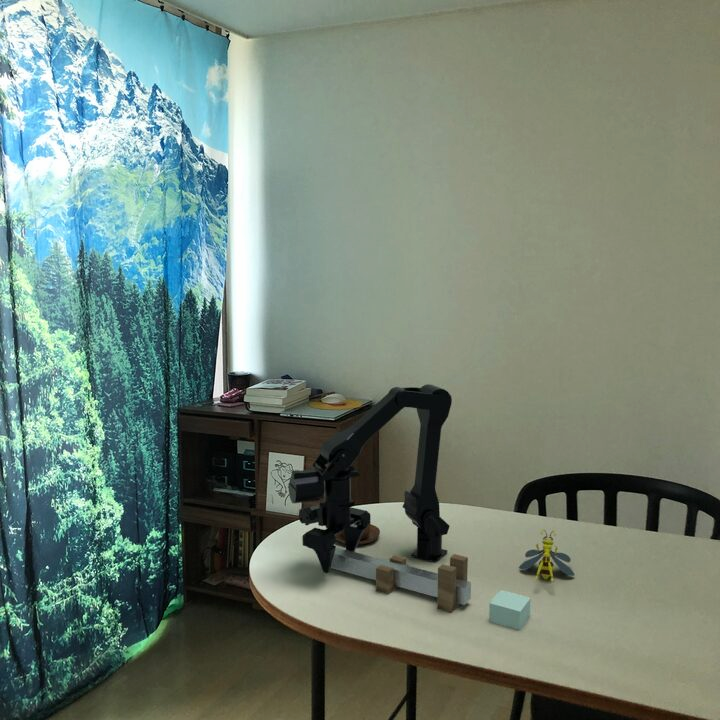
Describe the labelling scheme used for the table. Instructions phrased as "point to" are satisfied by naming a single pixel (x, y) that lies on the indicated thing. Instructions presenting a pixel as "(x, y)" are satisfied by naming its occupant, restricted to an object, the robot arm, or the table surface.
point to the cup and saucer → (367, 536)
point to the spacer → (509, 609)
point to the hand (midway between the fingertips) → (338, 565)
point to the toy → (547, 559)
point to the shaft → (397, 574)
